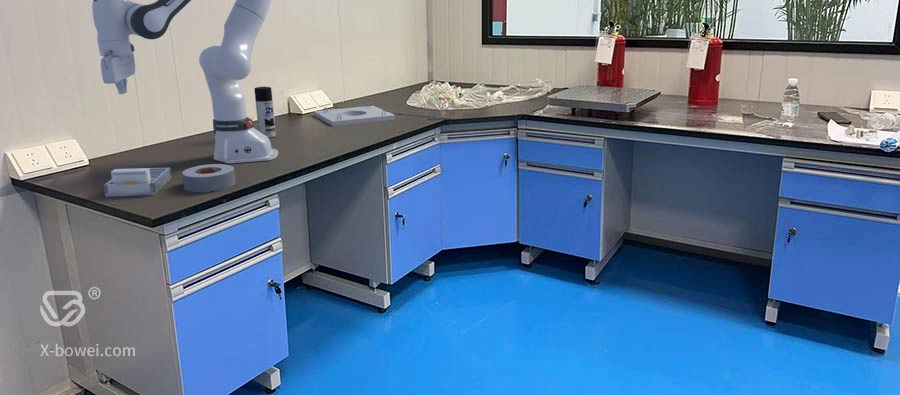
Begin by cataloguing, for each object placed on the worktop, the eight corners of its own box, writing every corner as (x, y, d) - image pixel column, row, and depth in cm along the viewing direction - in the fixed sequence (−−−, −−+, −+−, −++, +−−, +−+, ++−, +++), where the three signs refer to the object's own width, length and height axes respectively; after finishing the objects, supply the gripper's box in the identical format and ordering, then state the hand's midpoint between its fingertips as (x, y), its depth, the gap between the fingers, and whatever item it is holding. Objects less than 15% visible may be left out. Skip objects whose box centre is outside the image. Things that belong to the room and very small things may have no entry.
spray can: (266, 139, 267) (262, 89, 260) (255, 137, 270) (250, 88, 264) (279, 136, 272) (275, 87, 266) (267, 134, 275) (263, 85, 269)
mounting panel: (313, 106, 311) (372, 100, 324) (314, 116, 313) (373, 111, 326) (332, 116, 289) (395, 110, 302) (332, 127, 290) (395, 120, 304)
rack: (171, 177, 215) (170, 165, 214) (154, 195, 198) (152, 181, 197) (126, 179, 213) (124, 167, 212) (105, 196, 196) (103, 183, 195)
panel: (152, 187, 202) (149, 168, 200) (148, 190, 199) (146, 170, 197) (117, 188, 201) (114, 169, 199) (114, 191, 198) (110, 171, 196)
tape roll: (175, 185, 208) (173, 169, 206) (221, 175, 218) (219, 160, 216) (197, 196, 197) (195, 180, 196) (244, 185, 208) (243, 170, 206)
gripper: (114, 52, 196) (122, 99, 201) (135, 45, 216) (142, 87, 220) (91, 53, 196) (100, 99, 200) (115, 45, 215) (122, 88, 219)
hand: (123, 93), depth 210 cm, fingers closed
